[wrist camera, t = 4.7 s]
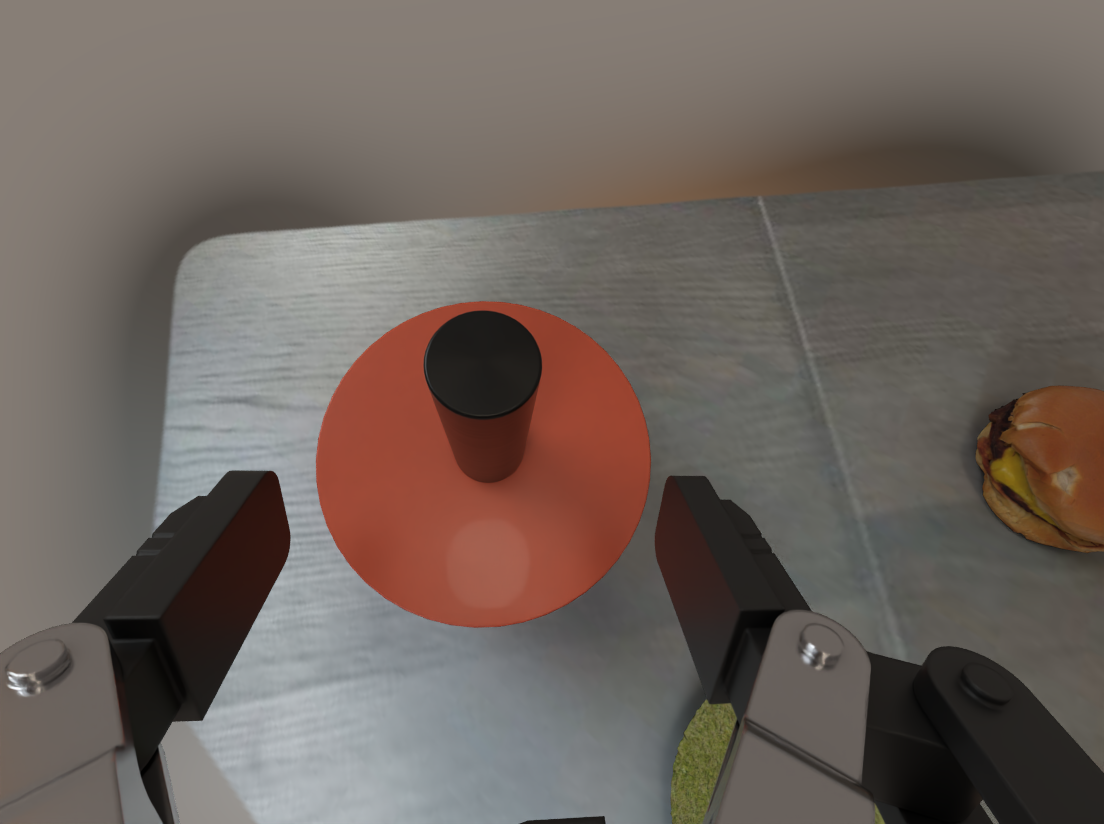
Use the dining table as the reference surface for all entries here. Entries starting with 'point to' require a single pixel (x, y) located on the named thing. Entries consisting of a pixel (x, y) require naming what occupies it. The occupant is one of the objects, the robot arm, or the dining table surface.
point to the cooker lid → (483, 464)
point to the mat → (703, 763)
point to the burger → (1048, 466)
